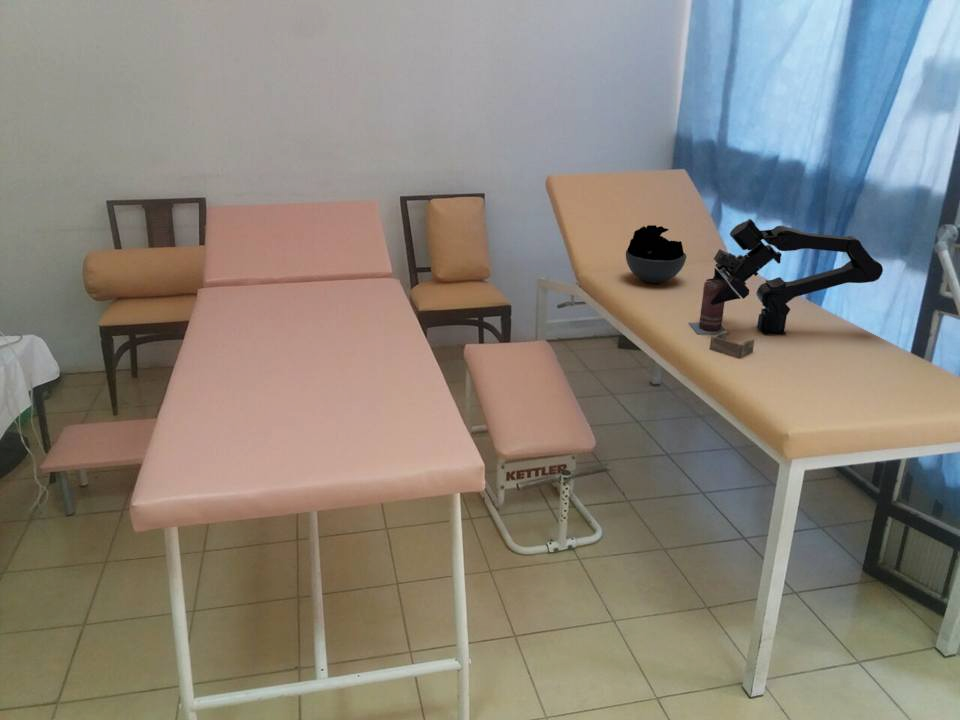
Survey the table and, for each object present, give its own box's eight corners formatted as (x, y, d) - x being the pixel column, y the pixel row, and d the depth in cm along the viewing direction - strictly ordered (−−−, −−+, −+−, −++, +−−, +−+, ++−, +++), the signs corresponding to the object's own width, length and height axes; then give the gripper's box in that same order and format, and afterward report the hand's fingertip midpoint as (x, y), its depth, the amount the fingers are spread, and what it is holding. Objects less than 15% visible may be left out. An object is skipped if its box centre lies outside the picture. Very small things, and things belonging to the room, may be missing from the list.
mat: (718, 323, 228) (718, 322, 228) (729, 334, 219) (729, 333, 219) (688, 323, 227) (688, 322, 227) (697, 334, 219) (697, 333, 219)
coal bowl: (648, 270, 279) (653, 218, 271) (695, 283, 264) (702, 228, 257) (611, 280, 267) (615, 225, 259) (657, 294, 253) (663, 237, 245)
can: (694, 325, 225) (699, 278, 220) (713, 323, 227) (719, 277, 221) (705, 332, 220) (711, 284, 214) (725, 330, 221) (731, 283, 216)
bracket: (723, 342, 213) (724, 330, 212) (752, 351, 208) (754, 339, 206) (709, 348, 209) (711, 336, 208) (739, 358, 203) (741, 345, 202)
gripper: (726, 233, 222) (683, 269, 227) (743, 249, 205) (695, 288, 209) (750, 260, 224) (707, 296, 229) (769, 279, 207) (721, 317, 212)
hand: (707, 298), depth 220 cm, fingers open, 9 cm apart
